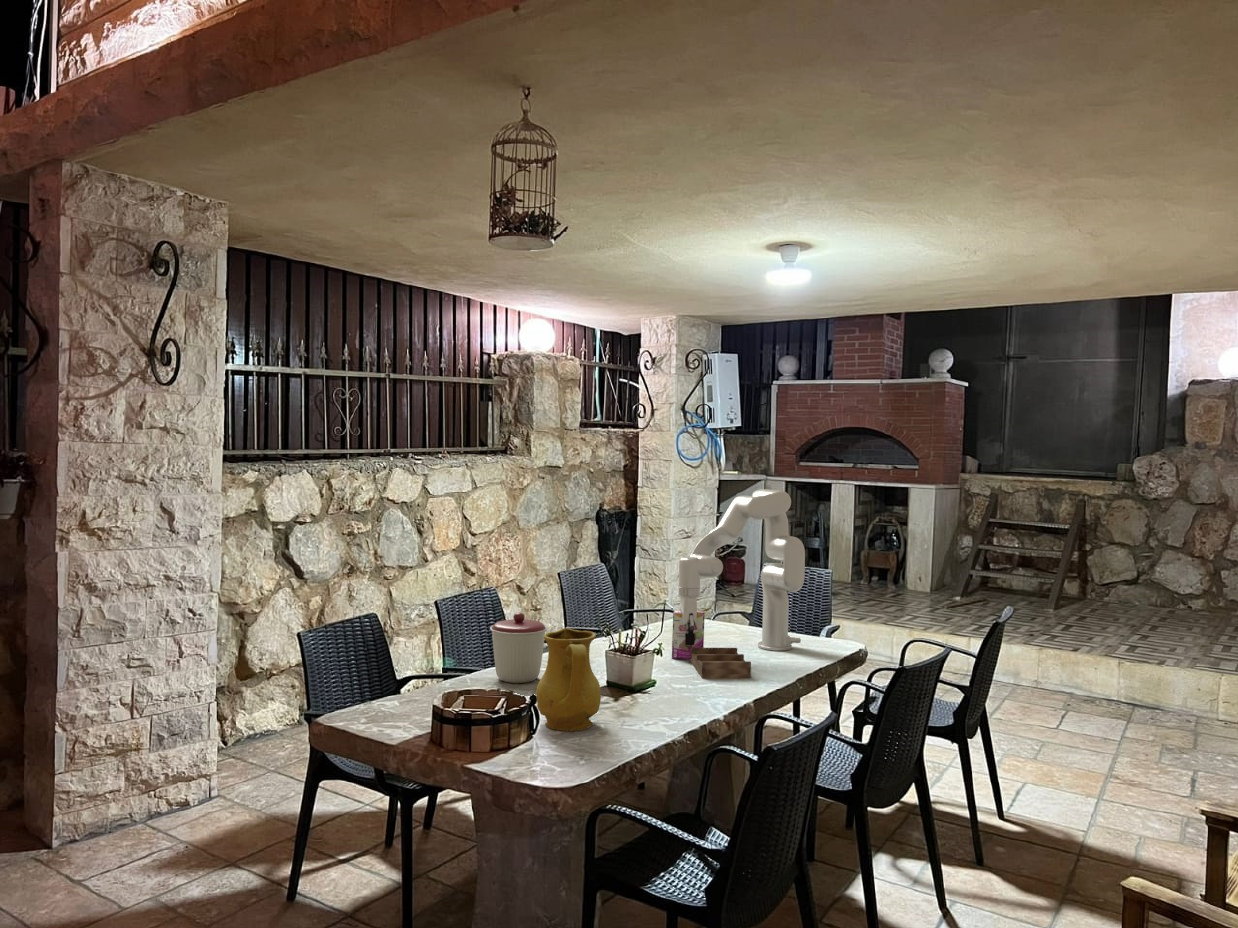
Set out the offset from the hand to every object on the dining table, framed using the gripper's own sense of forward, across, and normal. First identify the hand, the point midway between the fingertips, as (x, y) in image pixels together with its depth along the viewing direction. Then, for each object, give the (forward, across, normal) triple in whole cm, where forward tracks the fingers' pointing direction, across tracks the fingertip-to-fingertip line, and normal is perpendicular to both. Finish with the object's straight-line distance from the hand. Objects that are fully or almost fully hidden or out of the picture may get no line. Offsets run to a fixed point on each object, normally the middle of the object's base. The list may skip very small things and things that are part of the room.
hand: (688, 642), depth 312 cm
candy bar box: (+6, 0, 0) cm, 6 cm away
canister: (+6, +28, -59) cm, 66 cm away
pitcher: (+6, +75, -45) cm, 88 cm away
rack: (+6, +17, +8) cm, 20 cm away
